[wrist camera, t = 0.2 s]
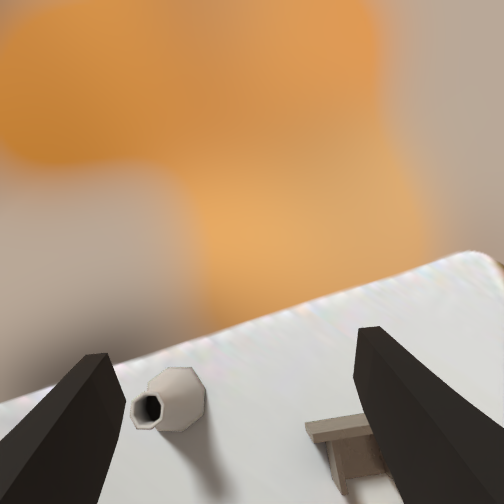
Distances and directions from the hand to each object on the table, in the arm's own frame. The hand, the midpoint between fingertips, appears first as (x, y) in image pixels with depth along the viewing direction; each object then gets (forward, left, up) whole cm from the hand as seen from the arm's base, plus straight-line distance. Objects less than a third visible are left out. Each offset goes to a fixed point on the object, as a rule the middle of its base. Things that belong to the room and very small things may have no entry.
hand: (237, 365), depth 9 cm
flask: (-3, +10, -31) cm, 33 cm away
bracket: (-11, -9, -31) cm, 34 cm away
